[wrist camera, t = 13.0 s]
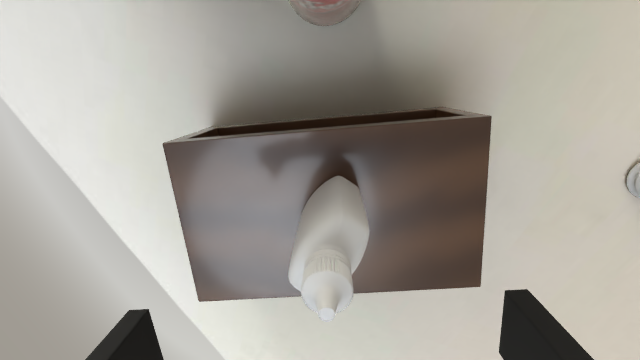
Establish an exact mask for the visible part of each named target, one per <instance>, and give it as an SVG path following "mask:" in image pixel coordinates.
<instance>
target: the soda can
mask: <svg viewBox="0 0 640 360" xmlns="http://www.w3.org/2000/svg"><path fill="white" fill-rule="evenodd" d="M288 1H289V3H290V5H291V6H292V8H293V9H294V11H295V12H296V13H297V14H298V15H299V16H300V17H301V18H302V19H304V20H305V21H307V22H309V23H311V24H315V25H318V26H329V25H334V24H337V23H340V22H342V21H343V20H345V19H346V18H348V17H349V16H350V15H351V14H352V13H353V12H354V11H355V9H356V8H357V6H358V5H359V3H360V1H361V0H288Z"/></svg>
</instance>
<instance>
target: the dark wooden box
mask: <svg viewBox="0 0 640 360" xmlns="http://www.w3.org/2000/svg"><path fill="white" fill-rule="evenodd" d="M490 131H491V116H489V115H483V114H477V113H472V112H467V111H461V110H456V109H451V108H446V107H437V108H425V109H414V110H402V111H390V112H379V113H367V114H355V115H344V116H332V117H320V118H309V119H297V120H285V121H273V122H262V123H250V124H238V125H227V126H215V127H209V128H206V129H204V130H201V131H198V132H195V133H192V134H189V135H186V136H183V137H180V138H177V139H174V140H171V141H168V142H165V143H163V148H164V152H165V156H166V161H167V165H168V169H169V174H170V178H171V182H172V187H173V191H174V195H175V200H176V204H177V208H178V213H179V217H180V221H181V226H182V230H183V235H184V239H185V243H186V248H187V252H188V256H189V261H190V265H191V269H192V274H193V278H194V282H195V287H196V291H197V295H198V300H199V302H201V301H220V300H239V299H258V298H277V297H296V296H301V291H299V290H297V289H296V288H295V287H293V285H292V284H291V283H290V281H289V277H288V273H289V266H290V261H291V256H292V251H293V247H294V243H295V238H296V234H297V230H298V225H299V221H300V217H301V214H302V211H303V209H304V207H305V205H306V203H307V201H308V200H309V198H310V197H311V196H312V194H313V193H314V192H315V191H316V190H317V189H318V188H319V187H320V186H321V185H322V184H324V183H325V182H326V181H328V180H329V179H331V178H333V177H335V176H342V177H344V178H346V179H347V180H349V181H350V182H352V183H353V184H354V185H356V186H357V187H358V188H359V190H360V193H361V197H362V200H363V204H364V208H365V212H366V216H367V220H368V225H369V239H368V243H367V246H366V250H365V252H364V255H363V257H362V259H361V261H360V263H359V265H358V267H357V268H356V270H355V271H354V273H353V274H352V283H353V293H372V292H391V291H409V290H428V289H447V288H466V287H480V285H481V270H482V255H483V239H484V224H485V208H486V193H487V178H488V162H489V147H490Z"/></svg>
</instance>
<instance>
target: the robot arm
mask: <svg viewBox="0 0 640 360" xmlns="http://www.w3.org/2000/svg"><path fill="white" fill-rule="evenodd" d="M499 353H500V355H501V356H502V358H503V359H504V360H594V359H593V358H592V357H591V356H590V355H589V354H588V353H587V352H586V351H585V350H584V349H583V348H582V347H581V346H580V345H579V344H578V342H577V341H576V340H575V339H574V338H573V337H572V336H571V335H570V334H569V333H568V332H567V331H566V330H565V329H564V328H563V327H562V326H561V324H560V323H559V322H558V321H557V320H556V319H555V318H554V317H553V316H552V315H551V314H550V313H549V312H548V311H547V310H546V309H545V308H544V306H543V305H542V304H541V303H540V302H539V301H538V300H537V299H536V298H535V297H534V296H533V295H532V294H531V293H530V292H529V291H528V290H527V289H525V290H506V291H505V296H504V306H503V316H502V326H501V337H500V347H499ZM86 360H163V356H162V353H161V349H160V346H159V343H158V339H157V336H156V333H155V329H154V326H153V322H152V320H151V316H150V313H149V309H143V310H129V311H128V312H127V313H126V314H125V315H124V317H123V318H122V319H121V320H120V321H119V322H118V323H117V325H116V326H115V327H114V328H113V329H112V330H111V331H110V332H109V334H108V335H107V336H106V337H105V338H104V339H103V340H102V342H101V343H100V344H99V345H98V346H97V347H96V348H95V349H94V351H93V352H92V353H91V354H90V355H89V356H88V357H87V358H86Z"/></svg>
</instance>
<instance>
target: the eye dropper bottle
mask: <svg viewBox="0 0 640 360" xmlns="http://www.w3.org/2000/svg"><path fill="white" fill-rule="evenodd" d="M368 239H369V225H368V220H367V216H366V212H365V208H364V204H363V200H362V197H361V193H360V190H359V188H358V187H357V186H356V185H354V184H353V183H352V182H350V181H349V180H347V179H346V178H344V177H342V176H335V177H333V178H331V179H329V180H328V181H326V182H325V183H324V184H322V185H321V186H320V187H319V188H318V189H317V190H316V191H315V192H314V193H313V194H312V196H311V197H310V198H309V200H308V201H307V203H306V205H305V207H304V209H303V211H302V214H301V217H300V221H299V225H298V230H297V234H296V238H295V243H294V247H293V251H292V256H291V261H290V266H289V273H288V277H289V281H290V283H291V284H292V285H293V287H295V288H296V289H297V290H299V291H301V296H302V299H303V301H304V303H305V304H306V305H307V307H309V308H310V309H311V310H313V311H315V312H317V313H318V316H319V318H320V319H321V320H323V321H331V320H333V319H334V317H335V314H336V313H339V312H341V311H342V310H344V309H345V308H346V307H347V306H348V305H349V304H350V302H351V300H352V297H353V283H352V274H353V273H354V271H355V270H356V268H357V267H358V265H359V263H360V261H361V259H362V257H363V255H364V252H365V250H366V246H367V243H368Z"/></svg>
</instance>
